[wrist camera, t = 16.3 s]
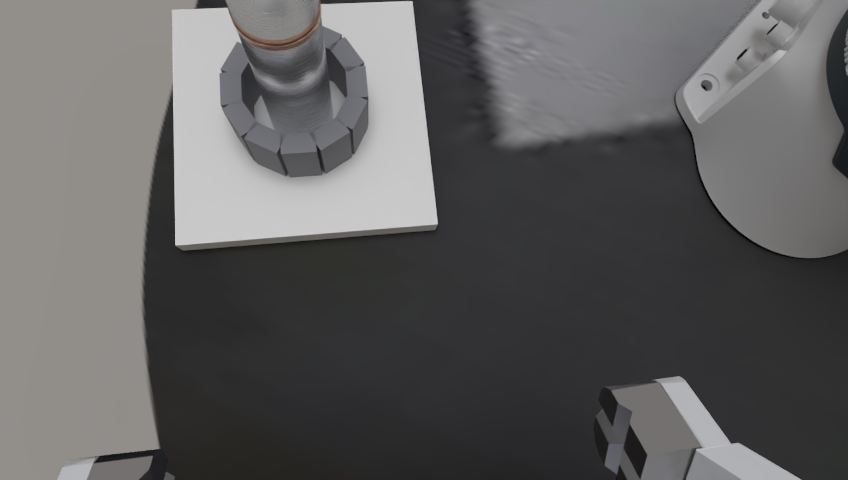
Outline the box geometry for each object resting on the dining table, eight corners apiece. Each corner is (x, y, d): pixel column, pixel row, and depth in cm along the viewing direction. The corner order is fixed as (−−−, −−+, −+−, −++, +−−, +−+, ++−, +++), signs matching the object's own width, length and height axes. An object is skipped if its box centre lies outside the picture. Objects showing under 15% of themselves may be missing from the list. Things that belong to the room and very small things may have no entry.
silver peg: (294, 74, 38) (254, -91, 25) (346, 107, 38) (335, -41, 25) (256, 122, 37) (194, -23, 24) (310, 156, 37) (278, 30, 24)
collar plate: (179, 23, 40) (149, -31, 35) (410, 14, 42) (416, -39, 36) (183, 250, 37) (151, 229, 31) (435, 230, 38) (446, 206, 33)
